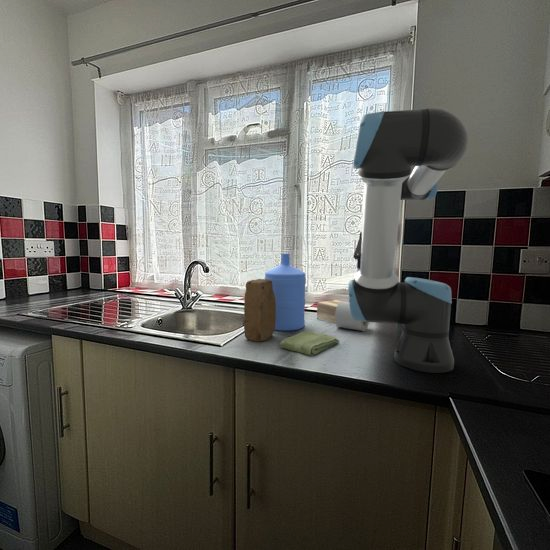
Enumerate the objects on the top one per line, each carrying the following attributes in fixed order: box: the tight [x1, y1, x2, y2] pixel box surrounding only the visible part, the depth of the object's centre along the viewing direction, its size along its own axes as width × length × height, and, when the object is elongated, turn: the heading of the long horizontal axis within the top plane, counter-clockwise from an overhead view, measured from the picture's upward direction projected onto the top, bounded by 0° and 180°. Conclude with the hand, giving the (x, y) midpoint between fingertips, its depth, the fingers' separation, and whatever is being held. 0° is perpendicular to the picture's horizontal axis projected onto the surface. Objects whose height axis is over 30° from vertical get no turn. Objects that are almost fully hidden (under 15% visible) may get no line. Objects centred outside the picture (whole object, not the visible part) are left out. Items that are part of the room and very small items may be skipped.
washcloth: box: [279, 330, 340, 356], centre depth 106 cm, size 13×18×3 cm
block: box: [243, 278, 276, 342], centre depth 112 cm, size 11×8×20 cm
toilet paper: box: [334, 300, 370, 332], centre depth 127 cm, size 10×10×10 cm
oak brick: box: [316, 299, 348, 324], centre depth 142 cm, size 13×13×7 cm
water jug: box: [264, 253, 307, 332], centre depth 128 cm, size 16×16×28 cm
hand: (371, 276), depth 126 cm, fingers open, 13 cm apart
